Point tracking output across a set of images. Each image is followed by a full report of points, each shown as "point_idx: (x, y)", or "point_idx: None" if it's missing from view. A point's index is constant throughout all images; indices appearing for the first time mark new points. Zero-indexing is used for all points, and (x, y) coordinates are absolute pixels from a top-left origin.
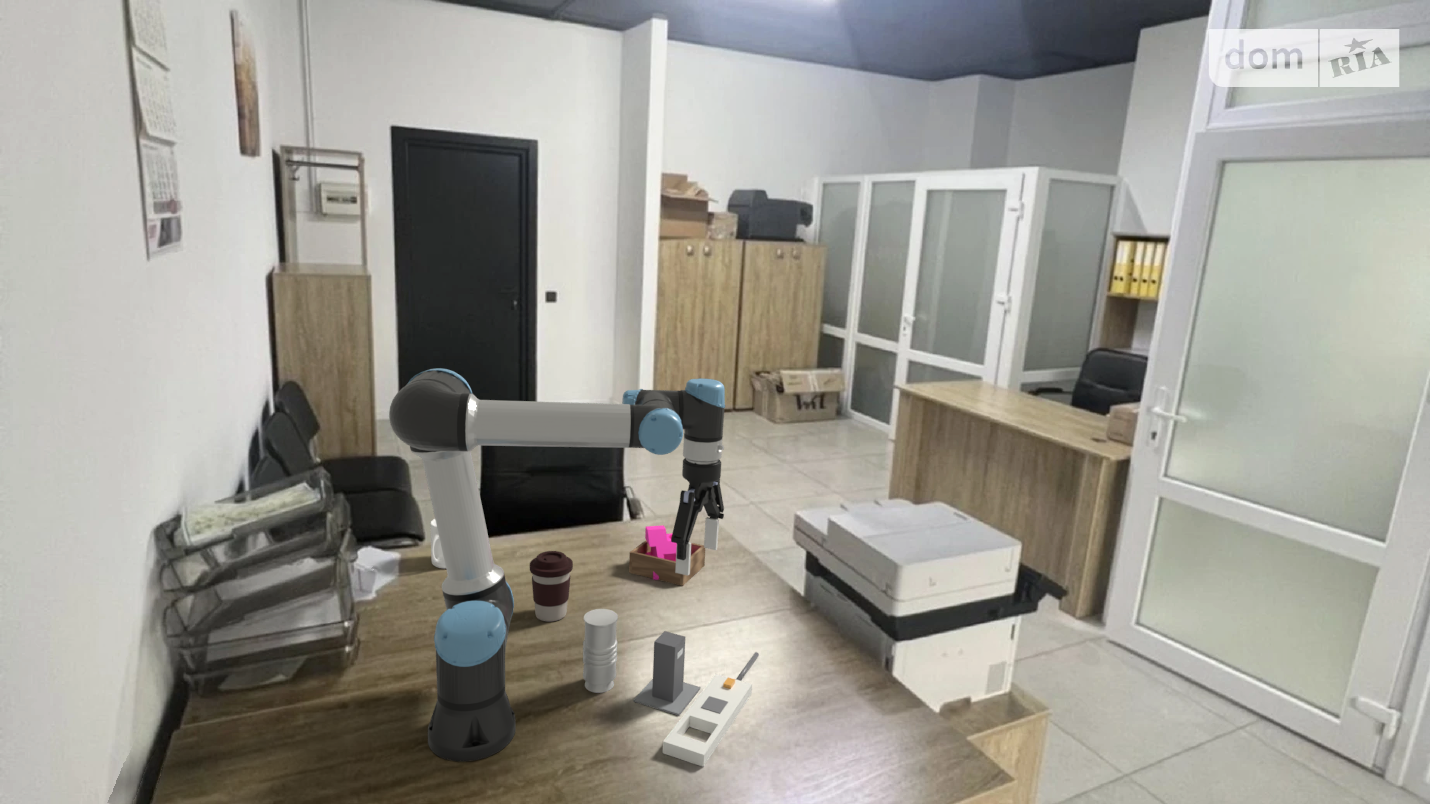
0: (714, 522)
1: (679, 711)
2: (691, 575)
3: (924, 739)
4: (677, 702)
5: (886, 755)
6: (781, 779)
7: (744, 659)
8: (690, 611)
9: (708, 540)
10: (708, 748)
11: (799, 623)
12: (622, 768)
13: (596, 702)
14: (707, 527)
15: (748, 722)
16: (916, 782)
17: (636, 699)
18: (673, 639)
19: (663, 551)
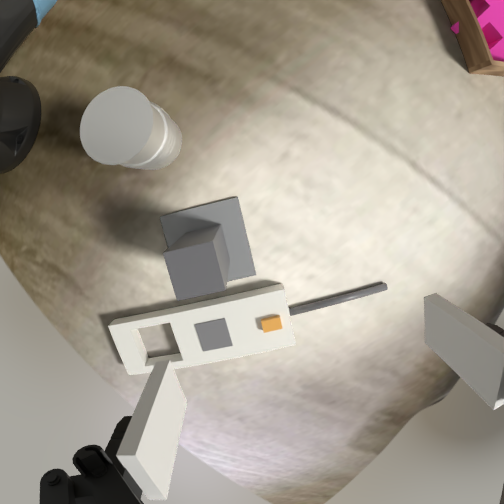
0: (489, 391)
1: None
2: (492, 74)
3: (329, 476)
4: None
5: (285, 469)
6: None
7: (367, 276)
8: (428, 121)
9: (441, 327)
10: (140, 373)
11: (481, 278)
12: (67, 298)
13: (123, 176)
14: (476, 345)
15: (236, 365)
16: (266, 490)
17: (163, 220)
18: (198, 278)
19: (492, 19)
